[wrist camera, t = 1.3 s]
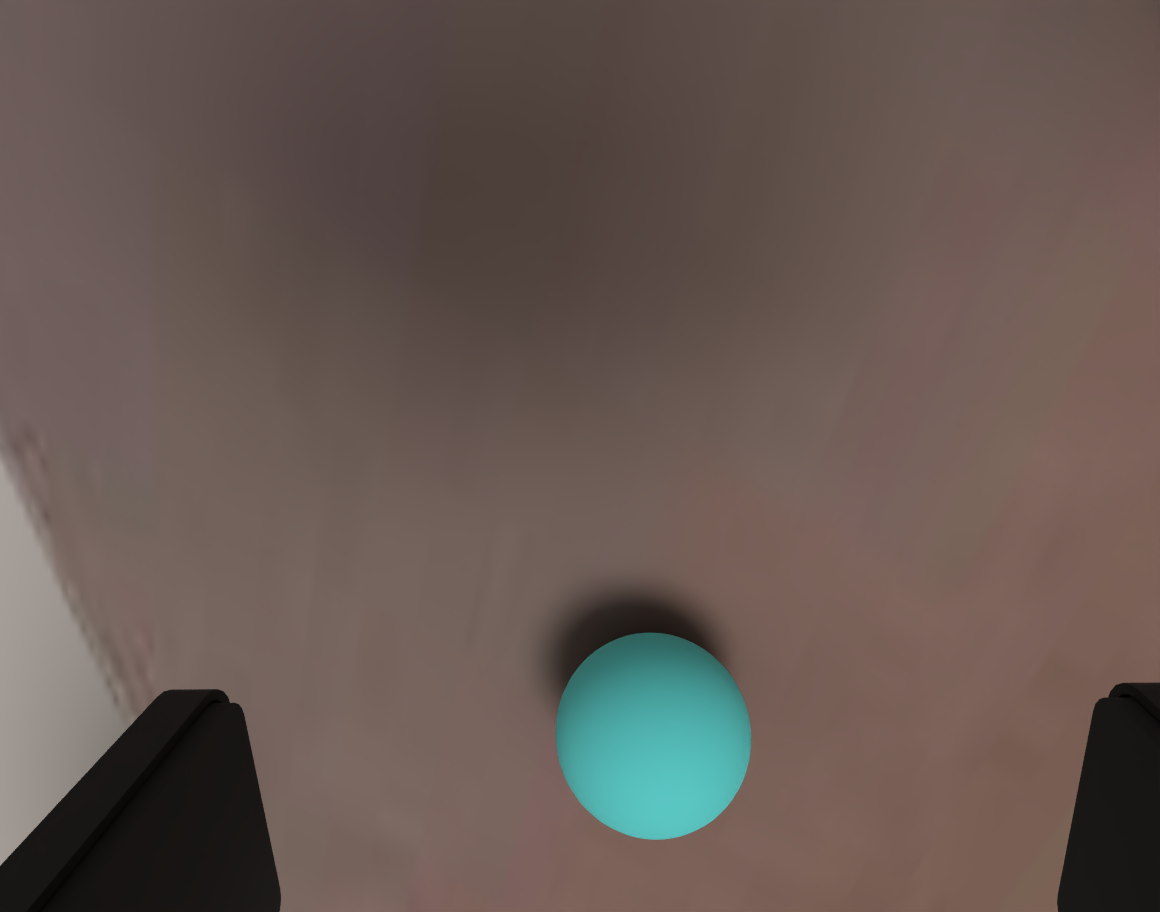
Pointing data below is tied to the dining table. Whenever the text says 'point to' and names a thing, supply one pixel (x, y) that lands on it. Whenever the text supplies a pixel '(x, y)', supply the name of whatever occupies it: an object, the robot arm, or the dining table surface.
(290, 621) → the dining table surface
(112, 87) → the dining table surface
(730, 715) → the ball
